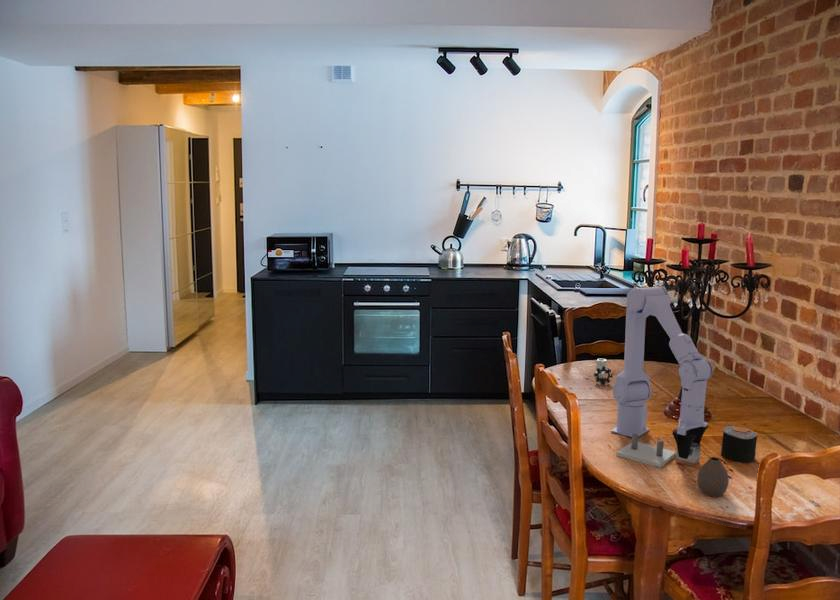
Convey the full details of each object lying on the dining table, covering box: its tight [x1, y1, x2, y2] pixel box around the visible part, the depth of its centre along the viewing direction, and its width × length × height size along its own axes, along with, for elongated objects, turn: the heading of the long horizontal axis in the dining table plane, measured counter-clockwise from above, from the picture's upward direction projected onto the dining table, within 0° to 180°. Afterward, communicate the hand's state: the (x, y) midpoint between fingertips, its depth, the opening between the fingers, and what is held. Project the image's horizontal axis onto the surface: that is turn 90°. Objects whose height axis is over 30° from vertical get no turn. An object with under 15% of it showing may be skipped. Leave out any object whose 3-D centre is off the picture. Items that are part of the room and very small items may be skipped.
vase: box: [696, 456, 730, 498], centre depth 172 cm, size 7×7×9 cm
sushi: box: [720, 425, 758, 464], centre depth 194 cm, size 8×8×8 cm
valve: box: [593, 358, 613, 385], centre depth 265 cm, size 7×7×12 cm
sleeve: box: [675, 442, 702, 468], centre depth 190 cm, size 5×5×5 cm
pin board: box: [616, 434, 677, 468], centre depth 194 cm, size 11×12×5 cm
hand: (688, 453), depth 190 cm, fingers open, 7 cm apart
